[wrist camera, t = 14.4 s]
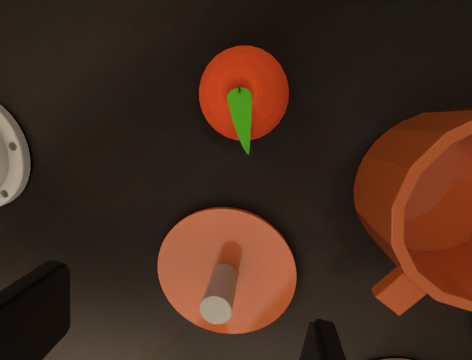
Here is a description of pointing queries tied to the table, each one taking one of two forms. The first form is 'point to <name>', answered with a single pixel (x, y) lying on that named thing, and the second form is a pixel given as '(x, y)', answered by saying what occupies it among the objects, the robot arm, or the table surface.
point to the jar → (395, 359)
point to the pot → (421, 208)
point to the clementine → (243, 93)
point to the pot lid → (227, 270)
